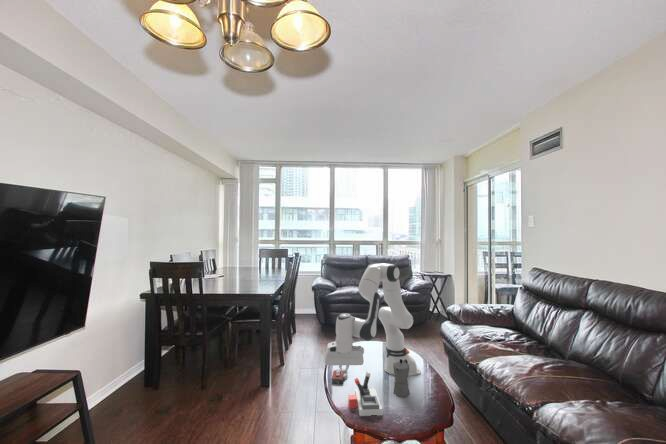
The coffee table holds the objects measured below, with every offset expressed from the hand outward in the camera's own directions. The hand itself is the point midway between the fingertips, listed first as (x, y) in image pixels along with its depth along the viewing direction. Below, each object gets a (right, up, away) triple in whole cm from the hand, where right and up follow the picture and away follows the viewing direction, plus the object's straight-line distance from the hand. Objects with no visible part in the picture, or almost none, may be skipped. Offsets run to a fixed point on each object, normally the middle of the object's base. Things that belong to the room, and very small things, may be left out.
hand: (343, 373), depth 153 cm
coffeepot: (+33, -16, +11) cm, 38 cm away
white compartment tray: (+12, -16, -1) cm, 20 cm away
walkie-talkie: (-1, -17, +29) cm, 33 cm away
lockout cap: (+4, -16, -2) cm, 16 cm away
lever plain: (+11, -13, +6) cm, 18 cm away
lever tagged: (+11, -13, 0) cm, 17 cm away
